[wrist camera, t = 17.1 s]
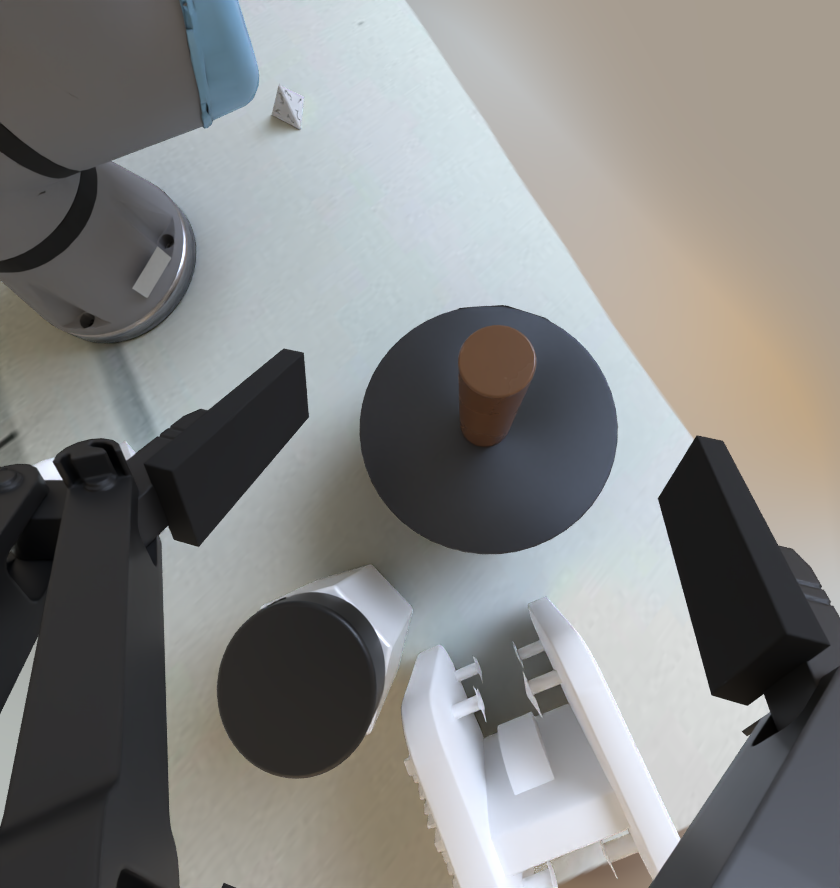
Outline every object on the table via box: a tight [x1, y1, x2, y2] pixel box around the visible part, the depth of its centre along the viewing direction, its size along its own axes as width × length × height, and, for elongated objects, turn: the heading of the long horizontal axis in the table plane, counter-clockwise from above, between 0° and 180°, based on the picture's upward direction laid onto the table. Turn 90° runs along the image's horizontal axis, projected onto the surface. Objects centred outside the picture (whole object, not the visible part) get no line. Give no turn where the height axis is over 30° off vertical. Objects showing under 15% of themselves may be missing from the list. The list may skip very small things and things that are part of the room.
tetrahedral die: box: [272, 85, 304, 129], centre depth 39 cm, size 4×3×3 cm
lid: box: [360, 306, 618, 554], centre depth 20 cm, size 14×14×10 cm
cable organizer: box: [401, 597, 681, 888], centre depth 25 cm, size 15×11×12 cm
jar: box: [217, 565, 413, 779], centre depth 27 cm, size 9×8×12 cm
